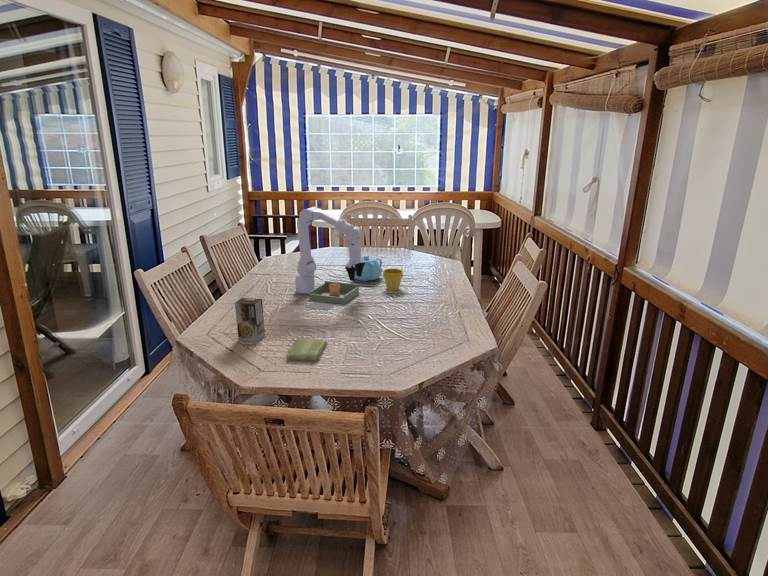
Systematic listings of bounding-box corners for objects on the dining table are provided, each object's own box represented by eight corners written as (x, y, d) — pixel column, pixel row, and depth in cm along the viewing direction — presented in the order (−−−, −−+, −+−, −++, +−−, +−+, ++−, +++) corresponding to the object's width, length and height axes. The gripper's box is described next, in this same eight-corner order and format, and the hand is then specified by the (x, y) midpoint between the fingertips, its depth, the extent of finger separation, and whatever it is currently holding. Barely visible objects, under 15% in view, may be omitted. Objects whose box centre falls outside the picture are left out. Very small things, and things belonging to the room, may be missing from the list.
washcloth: (328, 344, 199) (328, 336, 198) (318, 363, 183) (318, 355, 182) (295, 342, 201) (295, 335, 200) (283, 362, 184) (283, 354, 183)
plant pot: (400, 292, 261) (400, 274, 258) (381, 291, 263) (381, 273, 260) (404, 286, 271) (404, 268, 268) (385, 285, 273) (385, 267, 270)
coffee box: (265, 336, 206) (262, 298, 201) (258, 342, 200) (255, 303, 195) (245, 334, 208) (242, 297, 203) (237, 340, 202) (234, 302, 197)
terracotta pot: (327, 297, 253) (327, 285, 251) (332, 294, 258) (332, 283, 256) (337, 298, 251) (336, 286, 249) (341, 295, 256) (341, 284, 254)
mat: (304, 307, 239) (304, 307, 239) (314, 301, 248) (314, 301, 247) (327, 310, 235) (327, 310, 234) (336, 304, 243) (336, 303, 243)
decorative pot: (373, 284, 274) (373, 260, 270) (347, 281, 281) (346, 257, 277) (385, 277, 289) (385, 254, 284) (360, 273, 295) (360, 251, 291)
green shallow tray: (309, 299, 250) (309, 290, 248) (325, 289, 265) (325, 280, 264) (344, 304, 244) (344, 294, 242) (358, 293, 259) (358, 284, 257)
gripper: (355, 255, 239) (356, 283, 243) (368, 249, 251) (369, 275, 255) (342, 254, 241) (343, 281, 245) (356, 248, 254) (356, 273, 258)
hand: (355, 278), depth 250 cm, fingers open, 7 cm apart
